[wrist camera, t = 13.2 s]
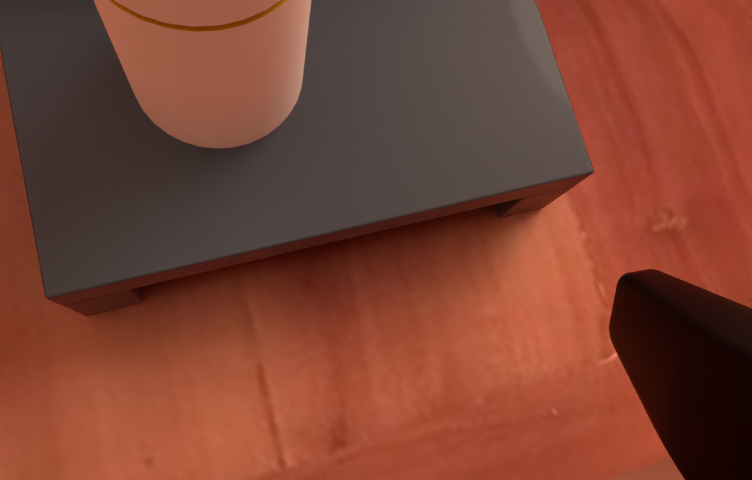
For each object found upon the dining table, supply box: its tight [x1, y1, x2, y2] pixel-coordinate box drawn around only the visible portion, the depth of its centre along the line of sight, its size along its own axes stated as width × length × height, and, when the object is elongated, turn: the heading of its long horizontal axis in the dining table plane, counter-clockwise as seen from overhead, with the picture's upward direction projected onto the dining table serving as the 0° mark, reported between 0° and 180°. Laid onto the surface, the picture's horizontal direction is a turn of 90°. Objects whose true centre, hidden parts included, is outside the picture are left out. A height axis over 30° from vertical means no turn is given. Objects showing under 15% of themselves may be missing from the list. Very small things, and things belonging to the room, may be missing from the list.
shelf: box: [0, 0, 594, 316], centre depth 18 cm, size 10×14×6 cm
